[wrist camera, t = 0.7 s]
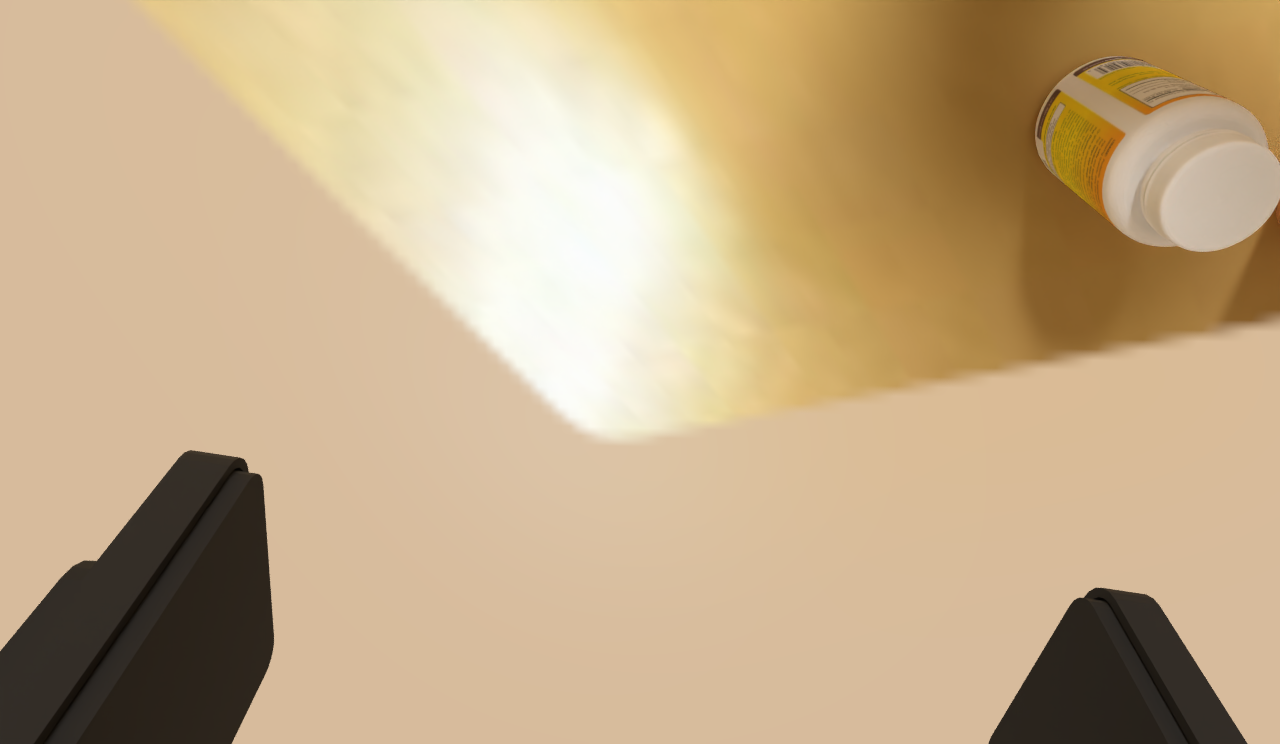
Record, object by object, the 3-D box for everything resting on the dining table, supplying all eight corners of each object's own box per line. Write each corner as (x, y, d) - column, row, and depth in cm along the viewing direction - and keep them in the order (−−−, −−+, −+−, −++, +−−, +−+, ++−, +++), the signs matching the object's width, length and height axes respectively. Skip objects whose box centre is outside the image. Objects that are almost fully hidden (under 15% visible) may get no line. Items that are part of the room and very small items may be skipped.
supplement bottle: (1072, 203, 40) (1182, 303, 32) (1006, 116, 39) (1104, 197, 30) (1187, 119, 38) (1339, 202, 30) (1123, 23, 36) (1266, 80, 28)
